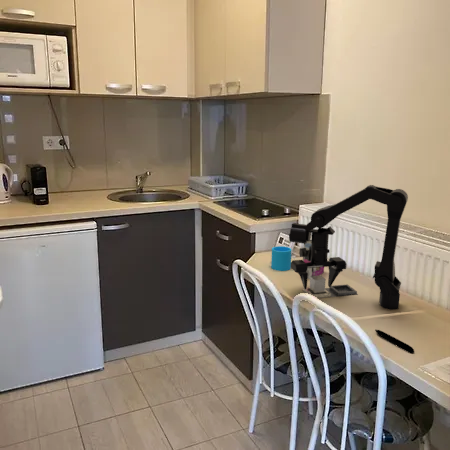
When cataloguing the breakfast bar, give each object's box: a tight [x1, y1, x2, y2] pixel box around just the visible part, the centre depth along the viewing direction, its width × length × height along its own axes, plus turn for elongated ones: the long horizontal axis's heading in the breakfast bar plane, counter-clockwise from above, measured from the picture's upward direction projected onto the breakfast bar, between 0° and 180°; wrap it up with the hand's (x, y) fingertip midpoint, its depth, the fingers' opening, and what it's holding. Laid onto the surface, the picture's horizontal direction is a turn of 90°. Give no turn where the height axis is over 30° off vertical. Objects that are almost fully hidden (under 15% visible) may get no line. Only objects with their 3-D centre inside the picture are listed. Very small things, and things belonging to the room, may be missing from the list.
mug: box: [270, 245, 292, 272], centre depth 195 cm, size 12×8×8 cm
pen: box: [374, 329, 415, 354], centre depth 132 cm, size 2×14×2 cm, turn 29°
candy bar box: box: [302, 235, 325, 280], centre depth 182 cm, size 11×5×16 cm, turn 145°
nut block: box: [309, 274, 327, 295], centre depth 164 cm, size 4×4×6 cm
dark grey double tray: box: [301, 283, 359, 299], centre depth 165 cm, size 8×18×2 cm, turn 103°
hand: (317, 287), depth 164 cm, fingers open, 9 cm apart
